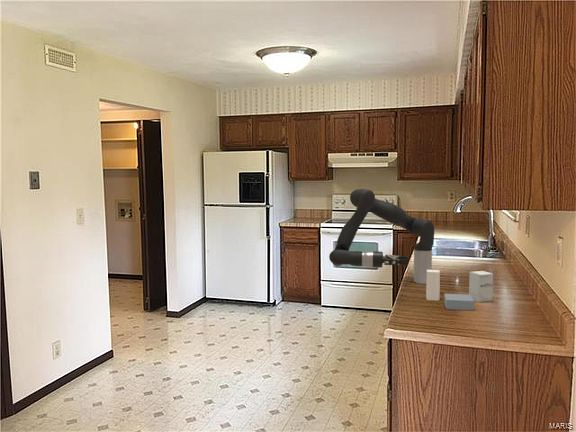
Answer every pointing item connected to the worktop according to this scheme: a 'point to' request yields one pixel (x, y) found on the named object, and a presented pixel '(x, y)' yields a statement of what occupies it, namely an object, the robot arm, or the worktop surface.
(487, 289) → the supplement box
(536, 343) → the worktop surface
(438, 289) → the cream block
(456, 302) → the plinth
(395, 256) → the robot arm
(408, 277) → the worktop surface
